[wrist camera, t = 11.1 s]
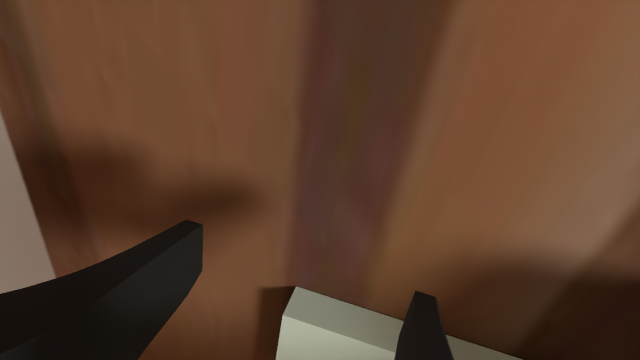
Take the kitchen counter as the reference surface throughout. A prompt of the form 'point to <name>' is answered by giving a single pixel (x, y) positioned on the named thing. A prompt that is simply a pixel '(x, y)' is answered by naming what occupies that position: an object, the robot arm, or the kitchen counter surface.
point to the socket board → (351, 333)
